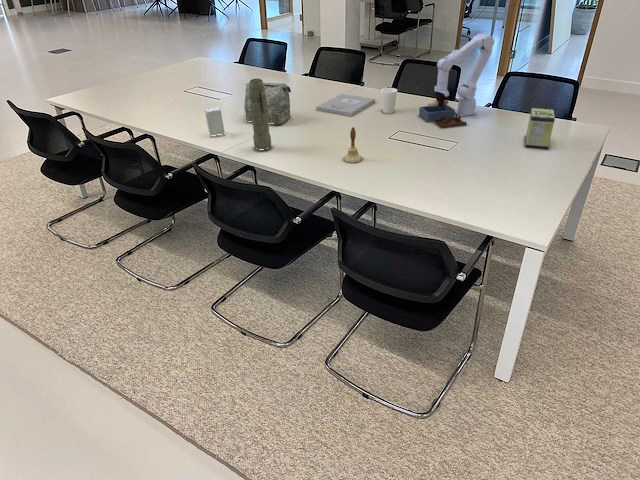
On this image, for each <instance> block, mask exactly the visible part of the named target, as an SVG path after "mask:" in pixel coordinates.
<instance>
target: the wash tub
mask: <svg viewBox="0 0 640 480" xmlns="http://www.w3.org/2000/svg"><path fill="white" fill-rule="evenodd" d="M455 111H456V109H454V108H453V107H451V106H450V105H448V104H443V106H439V105H437V106H434V107H429V106H428V105H425V106H419V112H418V117H420V118H422V120H423V121H425V122H426V123H432V122H433V123H434V121H435V120H437V119H442V117H443V116H444V119H445V118H453V117H455V114H456V113H455Z"/></svg>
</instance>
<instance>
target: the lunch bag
mask: <svg viewBox="0 0 640 480" xmlns="http://www.w3.org/2000/svg"><path fill="white" fill-rule="evenodd" d="M249 83H250V81H248V82H247V83H245V93H244V94H245V95H244V106H243V107H244V108H243V109H244V114H245V121H246V120H247V121H246V122H247V123H249V122H248V121H252V117H251V113H250V93H249ZM263 83H264V87H265V95H266V102H267V105H268V123H274V124H273V125H275V126H276V125H281V124H280V123H282V124H284V123H286V122H287V121H288V120H290V119H291V98H290V93H292V90H291V87H290V86H288V84H287V83H286V82H280V83H279V82H277V83H276V82H263ZM289 117H290V118H289ZM288 118H289V119H288ZM287 119H288V120H287ZM284 121H285V122H284ZM283 122H284V123H283ZM250 123H252V124H253V122H250Z"/></svg>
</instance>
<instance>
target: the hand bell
mask: <svg viewBox="0 0 640 480" xmlns="http://www.w3.org/2000/svg"><path fill="white" fill-rule="evenodd" d="M349 132H350V133H349V134H350V147H349V148H348V149H347V153H346V155H345V156H344V158H343V160H344V161H345V162H347V163H351V164H353V163H358V162H361V161H362V157H361V156H360V154H359V151H358V148H357V147H356V143H355V142H356V141H355V140H356V135H357V132H356V129H355V127H354V126H352V127H351V129H350V131H349Z"/></svg>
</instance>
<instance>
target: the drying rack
mask: <svg viewBox="0 0 640 480" xmlns="http://www.w3.org/2000/svg"><path fill="white" fill-rule="evenodd" d="M467 122H468V121H464V120H462V116H459V115H458V114H456V113H455V115H454V117H453V118H445V119H444V116H443V117H442V119H437V120H435V121H433V123H434V124H435V125H436V126H438V127H439V128H440V129H445V128H446V129H447V128H454V127H462V126H467Z"/></svg>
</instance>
